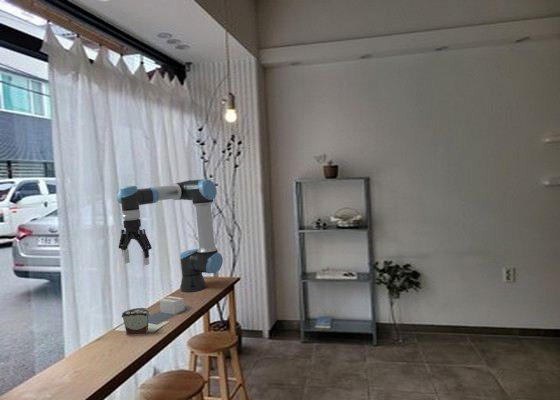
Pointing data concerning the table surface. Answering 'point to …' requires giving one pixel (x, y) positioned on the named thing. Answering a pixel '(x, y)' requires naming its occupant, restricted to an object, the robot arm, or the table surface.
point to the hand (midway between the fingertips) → (136, 264)
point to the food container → (136, 321)
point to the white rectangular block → (171, 305)
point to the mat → (163, 316)
